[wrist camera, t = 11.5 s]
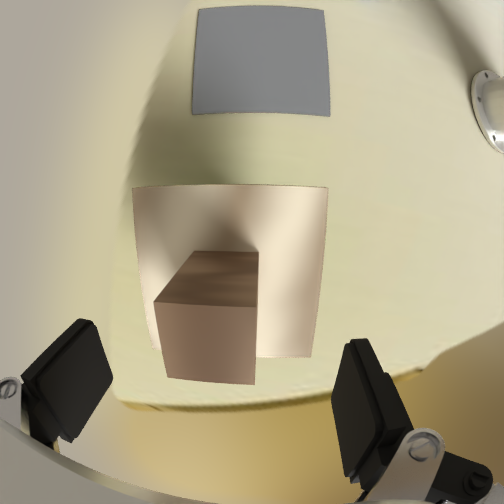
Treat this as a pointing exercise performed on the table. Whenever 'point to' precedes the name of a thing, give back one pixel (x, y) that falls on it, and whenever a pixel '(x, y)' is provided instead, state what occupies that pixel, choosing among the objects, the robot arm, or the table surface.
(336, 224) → the table surface
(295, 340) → the lid
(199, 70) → the mat
